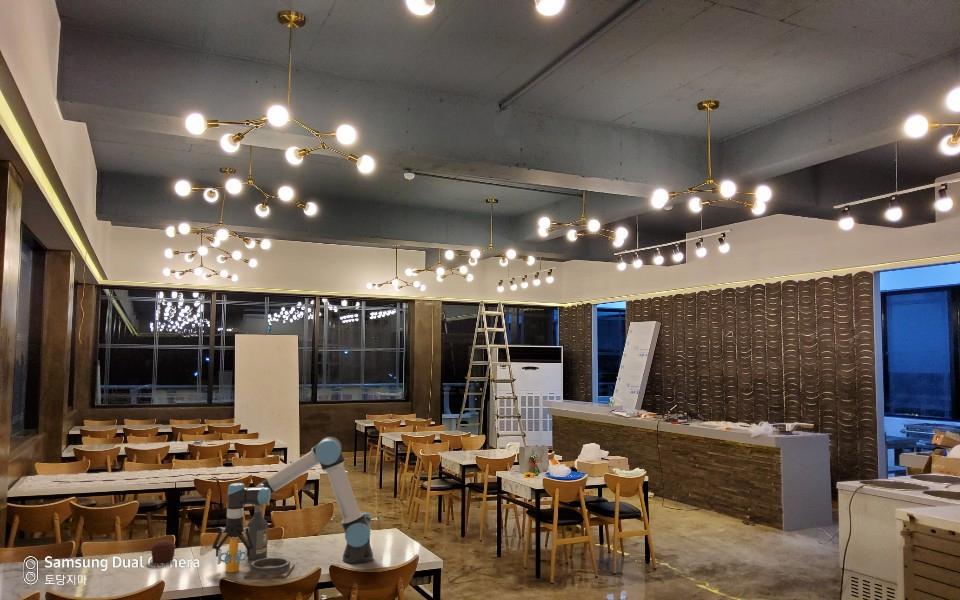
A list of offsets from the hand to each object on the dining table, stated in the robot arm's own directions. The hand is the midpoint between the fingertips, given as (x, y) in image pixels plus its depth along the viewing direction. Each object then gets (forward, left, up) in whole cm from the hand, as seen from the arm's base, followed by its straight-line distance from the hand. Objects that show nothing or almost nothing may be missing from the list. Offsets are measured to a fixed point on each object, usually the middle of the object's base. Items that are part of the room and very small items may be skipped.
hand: (232, 563), depth 321 cm
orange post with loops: (0, 0, -4) cm, 4 cm away
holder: (-18, +2, -3) cm, 18 cm away
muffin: (+39, -17, -4) cm, 43 cm away
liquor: (-5, -23, -4) cm, 24 cm away
